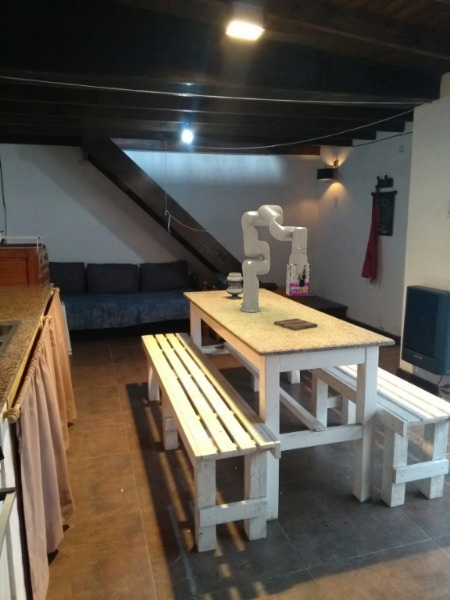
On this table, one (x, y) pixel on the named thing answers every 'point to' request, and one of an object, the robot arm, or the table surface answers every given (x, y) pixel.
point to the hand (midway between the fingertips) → (297, 285)
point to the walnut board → (295, 324)
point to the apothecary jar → (235, 285)
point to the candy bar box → (296, 282)
